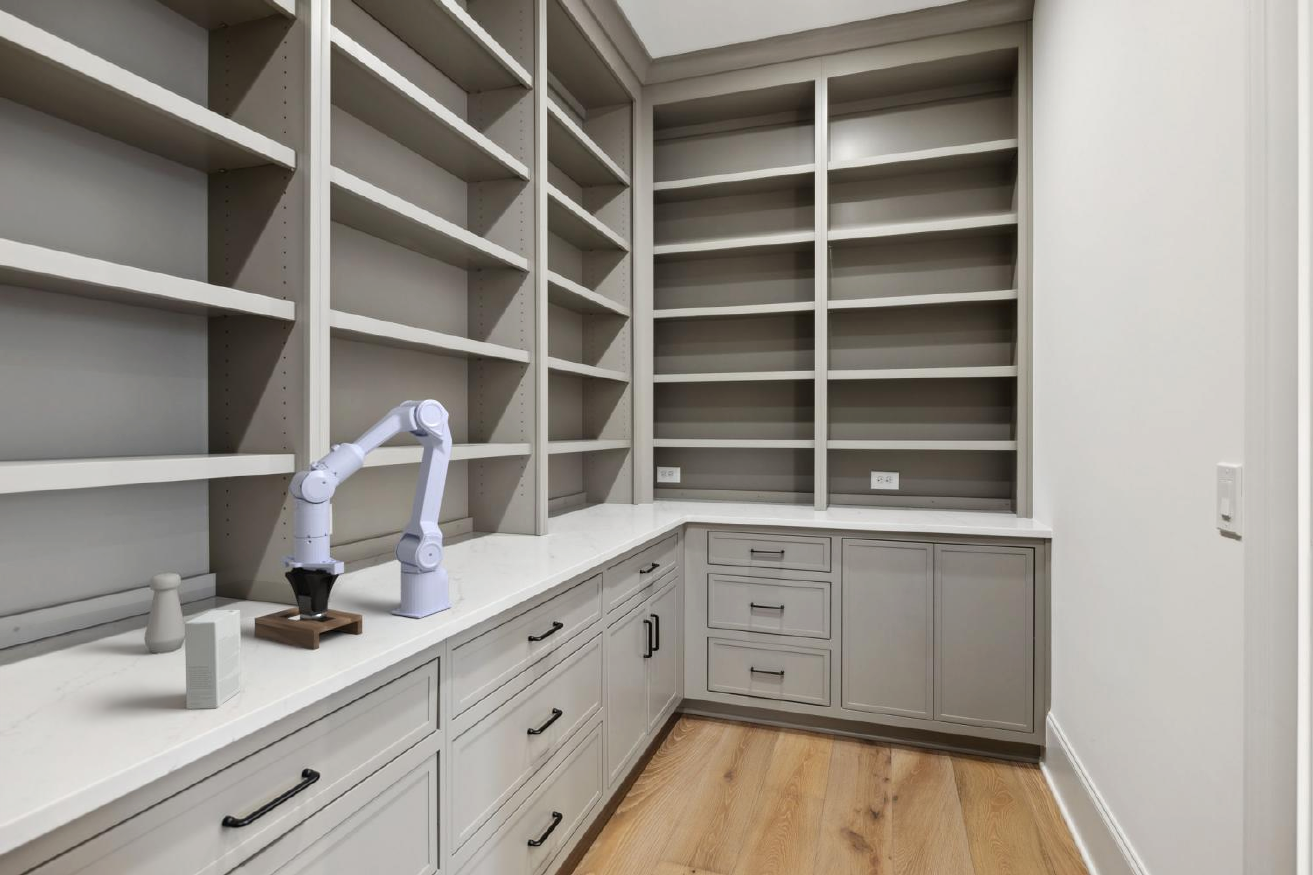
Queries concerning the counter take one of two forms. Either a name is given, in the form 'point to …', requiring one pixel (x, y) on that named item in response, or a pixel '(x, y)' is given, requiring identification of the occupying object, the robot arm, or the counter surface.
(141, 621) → the counter surface
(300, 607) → the dark grey key plug
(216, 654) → the skincare box
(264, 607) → the counter surface
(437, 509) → the robot arm
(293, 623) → the keyhole plate
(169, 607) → the salt shaker
